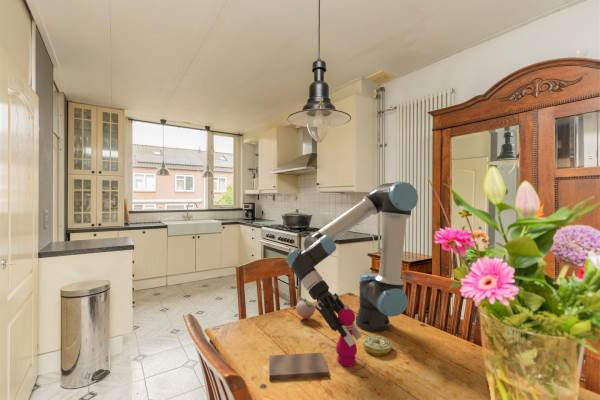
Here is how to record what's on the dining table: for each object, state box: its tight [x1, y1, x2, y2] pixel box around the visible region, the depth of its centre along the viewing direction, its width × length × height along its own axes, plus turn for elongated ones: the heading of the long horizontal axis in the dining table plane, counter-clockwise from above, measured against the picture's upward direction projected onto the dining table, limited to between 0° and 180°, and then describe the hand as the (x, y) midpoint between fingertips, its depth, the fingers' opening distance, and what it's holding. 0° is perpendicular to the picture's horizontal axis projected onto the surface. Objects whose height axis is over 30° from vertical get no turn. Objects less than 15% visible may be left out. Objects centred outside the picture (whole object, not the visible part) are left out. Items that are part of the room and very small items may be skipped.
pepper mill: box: [335, 304, 358, 367], centre depth 103 cm, size 7×7×20 cm
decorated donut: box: [362, 335, 393, 357], centre depth 112 cm, size 10×11×4 cm
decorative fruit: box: [295, 297, 316, 320], centre depth 140 cm, size 9×8×10 cm
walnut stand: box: [268, 352, 330, 381], centre depth 99 cm, size 19×12×2 cm, turn 96°
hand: (356, 340), depth 101 cm, fingers closed on pepper mill, 5 cm apart
